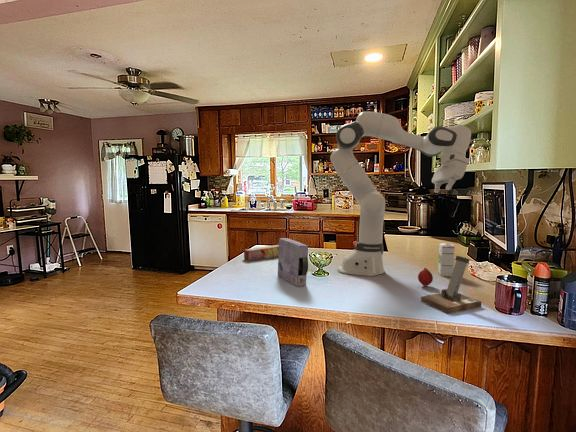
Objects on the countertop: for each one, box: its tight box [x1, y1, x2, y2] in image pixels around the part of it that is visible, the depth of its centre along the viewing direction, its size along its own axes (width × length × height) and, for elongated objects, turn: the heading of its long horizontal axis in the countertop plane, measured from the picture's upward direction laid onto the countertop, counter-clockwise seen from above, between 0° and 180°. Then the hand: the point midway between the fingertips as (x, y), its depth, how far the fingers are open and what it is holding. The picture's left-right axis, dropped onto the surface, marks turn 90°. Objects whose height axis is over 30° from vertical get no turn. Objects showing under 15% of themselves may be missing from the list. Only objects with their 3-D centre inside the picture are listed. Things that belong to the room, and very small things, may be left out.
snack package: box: [243, 244, 279, 262], centre depth 189 cm, size 21×7×7 cm, turn 122°
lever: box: [446, 255, 470, 299], centre depth 121 cm, size 2×4×15 cm, turn 24°
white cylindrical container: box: [437, 242, 456, 277], centre depth 158 cm, size 6×6×14 cm
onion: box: [417, 267, 434, 287], centre depth 141 cm, size 6×6×8 cm
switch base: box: [420, 288, 482, 315], centre depth 121 cm, size 16×12×5 cm
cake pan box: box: [277, 237, 309, 288], centre depth 147 cm, size 19×5×18 cm, turn 29°
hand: (442, 190), depth 147 cm, fingers open, 8 cm apart
